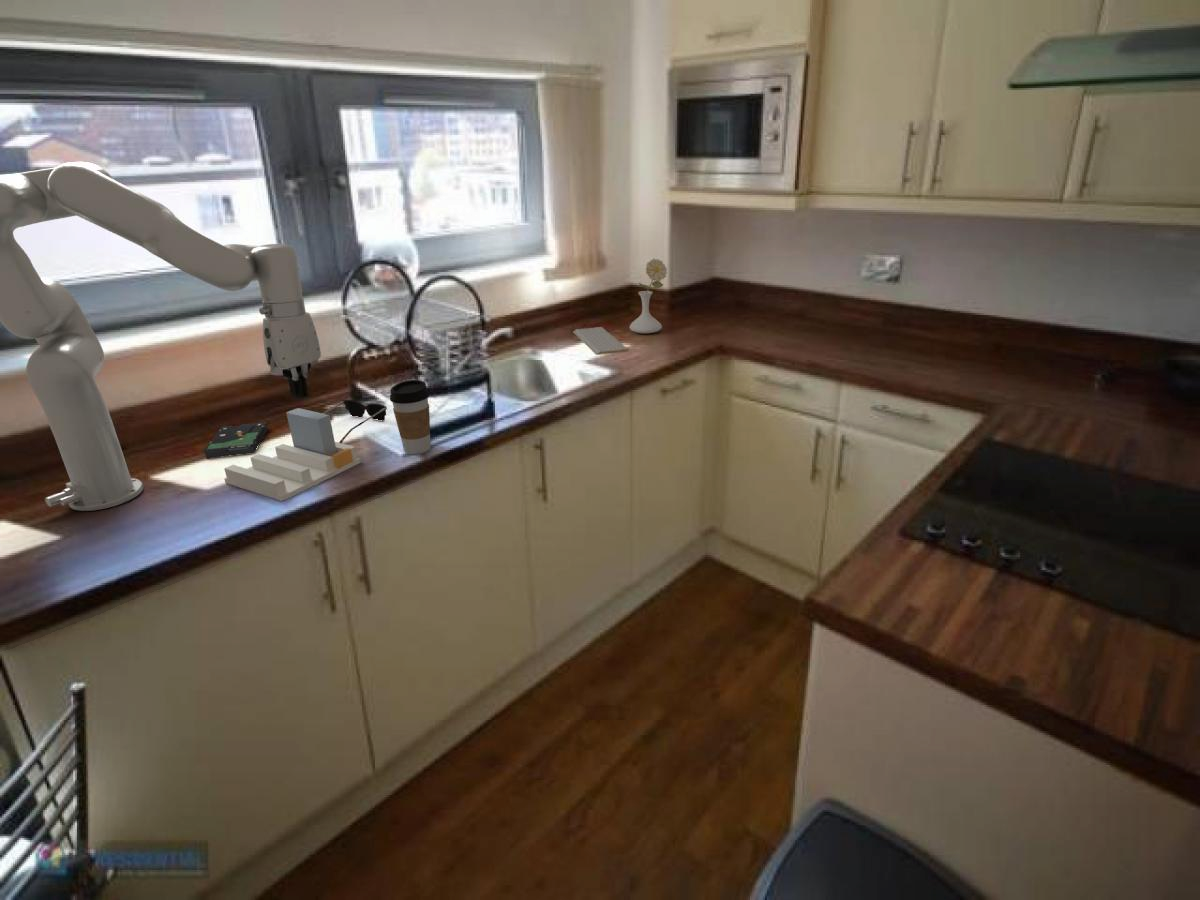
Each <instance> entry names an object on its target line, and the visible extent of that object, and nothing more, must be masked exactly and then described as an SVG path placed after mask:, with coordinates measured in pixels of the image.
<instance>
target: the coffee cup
mask: <svg viewBox="0 0 1200 900" xmlns="http://www.w3.org/2000/svg"><path fill="white" fill-rule="evenodd" d="M429 392H430V391H429V390H428V388H427V384H426V382H425V381H423V380H420V379H411V380H404V381H400V382H398V383H397V384H394V385H393V386H392V387H391V388H390V395H389V401H390V402H392V406H393V408H392V409H393V414H394V417H395V421H396V425H397V428H398V429H397V430H398V433H399V437H400V440H401V443H402V445H401V446H402V448H403V452H404V453H406V454H409V455H419V454H424V453H426V452H428V451H430V450H431V448H432V447H431V446H432V445H431V421H430V420H431V419H430V403H429V399H428V398H429V397H430V393H429Z"/></svg>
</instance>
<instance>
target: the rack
mask: <svg viewBox="0 0 1200 900" xmlns="http://www.w3.org/2000/svg"><path fill="white" fill-rule="evenodd" d="M335 446H336V451H337V453H336V454H333V457H331V456H327V455H323V454H319V453H315V452H312V451H308V450H304V449H300V448H296V447H294V445H288V444H285V443H282V444H279V445H277V446H275V447H274V448H275V449H274V450H275V452H276V453H275V454H276V456H273V457H270V456H267V455H263V454H260V453H258V454H255V455H253V456H251V457H250V462H251V465H252V466H250V467H247V468H245V467H242V466H238V465H236V464H231V465H229V466H227V467H225V468H224V469H223V471H224V473H225V476H226V477H224V478H223V479H224V482H225V483H226V484H228V485H231V486H234V487H236V488H241V489H243V490H247V491H249V492H253V493H256V494H259V495H261V496H265V497H269V498H271V499H274V498H275V499H274V500H278V501H280V500H281V501H280V502H284V501H285V499H286V500H288V499H289V498H292V497H293V496H296V495H298V494H300V493H302V492H304V491H306V490H308V489H310V488H312V487H315V486H316V485H319V484H320V483H322V482H325V481H327V480H328V479H330V478H332V477H334V476H336V475H339V474H340V473H343V472H345V471H346V470H348V469H351V468H353V467H355V466H357V465H359V464H361V463H362V461H361V457H358V455H357V449H356V446H353V445H350V444H346V443H343V442H342V443H339V442H337V441H335ZM283 500H284V501H283Z"/></svg>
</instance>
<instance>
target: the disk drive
mask: <svg viewBox="0 0 1200 900" xmlns="http://www.w3.org/2000/svg"><path fill="white" fill-rule="evenodd" d="M267 430H268V431H269V427H268V423H267V421H264V422H262V421H261V422H254V423H242V424H240V425H238V426H233V425H230V424H229V425H223V426H221V427H220V429H219V430H218V431H217V432H216V434H215V435H214V436H213V438H211V440H210V441H209V442H208V444H207V445H206V446H205V447H204V449H203V451H204V455H205V458H206V459H211V457H214V458H222V457H221V456H224V457H230V456H229V455H234V456H238V455H237V454H243V455H248V454H247V453H253V454H255V452H256V451H257V450H256V448H257V446H258V445H259V446H260V444H261V443H262V441H263V440H262V438H263V437H265V436H266V435H265V433H266V432H267V433H268V431H267ZM267 433H266V434H267ZM264 435H265V436H264ZM263 439H264V438H263ZM261 440H262V441H261ZM260 442H261V443H260ZM259 443H260V444H259ZM259 446H258V447H259ZM257 449H258V448H257ZM255 450H256V451H255Z"/></svg>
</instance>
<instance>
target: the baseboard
mask: <svg viewBox="0 0 1200 900" xmlns="http://www.w3.org/2000/svg"><path fill="white" fill-rule="evenodd" d="M592 326H595V325H592ZM581 327H585V325H583V326H582V325H581ZM574 328H575V326H573V327H572V329H574ZM572 333H573V334H574V335H575V336H576V337H577V338H578V339H580V340H581V341H582V343H583V344H584V345H585V346H587V348H588V349H590V351H592V352H593V353H594V354H595V355H596V356H598V355H607V354H616V353H624V352H625V353H627V352H628V348H627V347H626V346H625V345H623V343H621V342H620V341H619V340H618V339H616V338H615V337H614V336H613V335H612V334H611V333H610V332H608V331H607V330H606V329H605V328H604V327H602V326H597V327H585V328H580V329H579V328H576V329H575V330H572Z"/></svg>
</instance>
